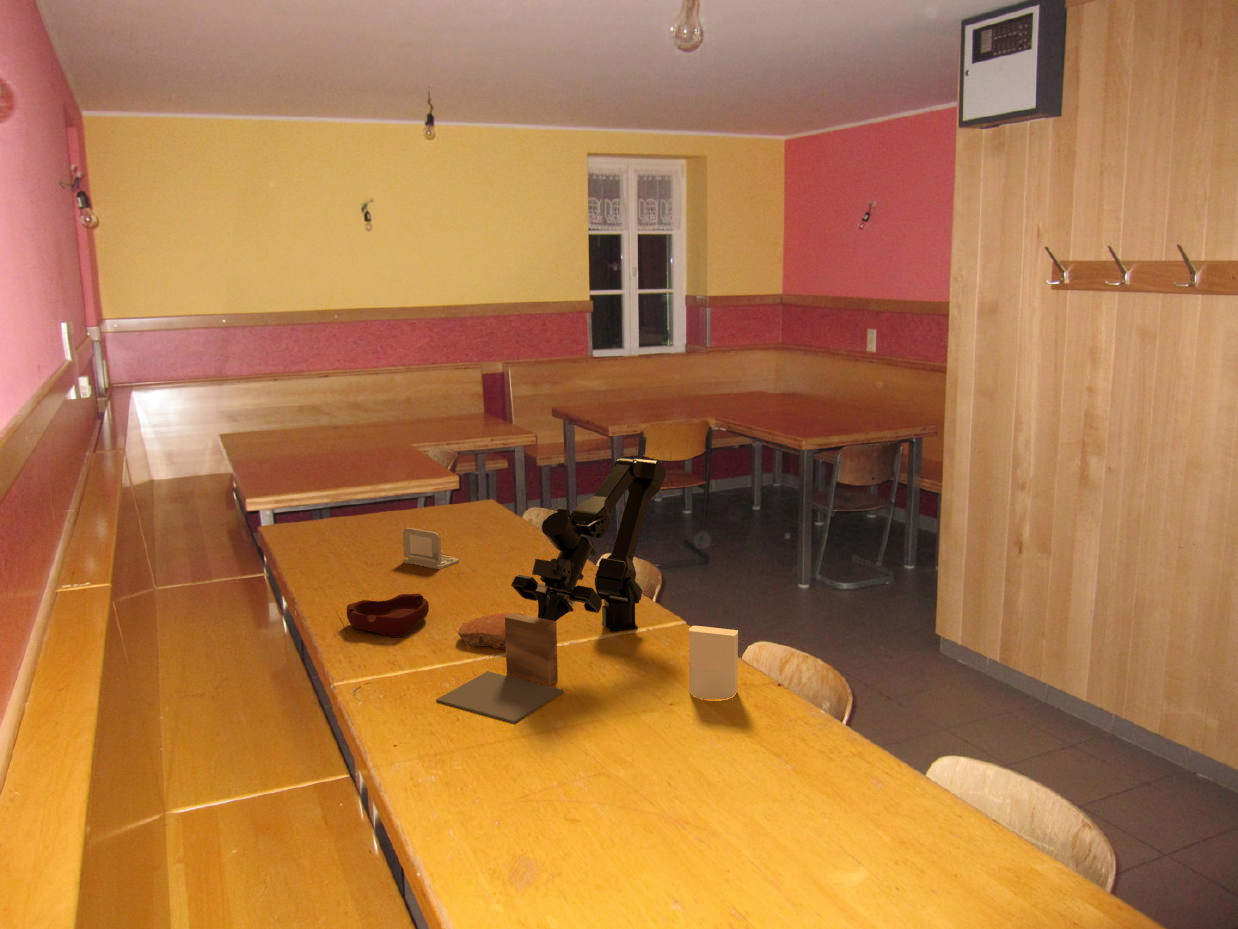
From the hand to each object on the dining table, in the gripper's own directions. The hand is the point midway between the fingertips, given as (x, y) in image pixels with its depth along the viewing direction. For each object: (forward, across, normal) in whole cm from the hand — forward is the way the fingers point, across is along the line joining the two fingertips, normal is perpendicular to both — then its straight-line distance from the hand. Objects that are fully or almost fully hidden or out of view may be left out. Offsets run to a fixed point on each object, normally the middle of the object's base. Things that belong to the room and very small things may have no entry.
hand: (539, 631), depth 189 cm
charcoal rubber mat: (+15, 0, -3) cm, 15 cm away
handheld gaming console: (-28, -71, +40) cm, 86 cm away
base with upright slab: (0, +33, +13) cm, 35 cm away
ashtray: (+3, -44, +10) cm, 45 cm away
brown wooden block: (+8, 0, +4) cm, 9 cm away
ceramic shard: (-2, -20, +14) cm, 25 cm away
